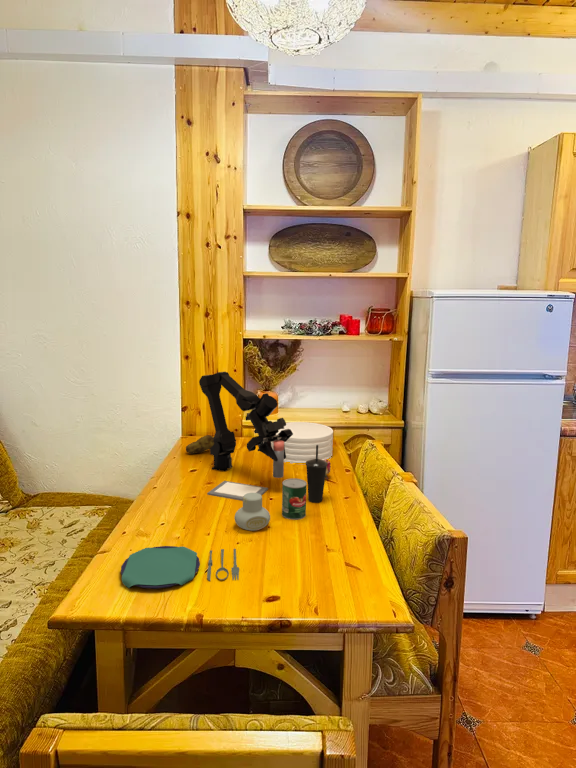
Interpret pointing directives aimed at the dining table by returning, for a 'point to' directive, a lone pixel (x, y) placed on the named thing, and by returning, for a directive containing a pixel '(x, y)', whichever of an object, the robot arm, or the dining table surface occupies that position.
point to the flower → (327, 468)
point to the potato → (200, 445)
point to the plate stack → (307, 442)
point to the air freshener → (252, 513)
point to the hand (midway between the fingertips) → (281, 459)
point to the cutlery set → (166, 567)
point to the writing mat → (235, 490)
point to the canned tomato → (294, 499)
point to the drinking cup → (316, 478)
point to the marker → (278, 465)
